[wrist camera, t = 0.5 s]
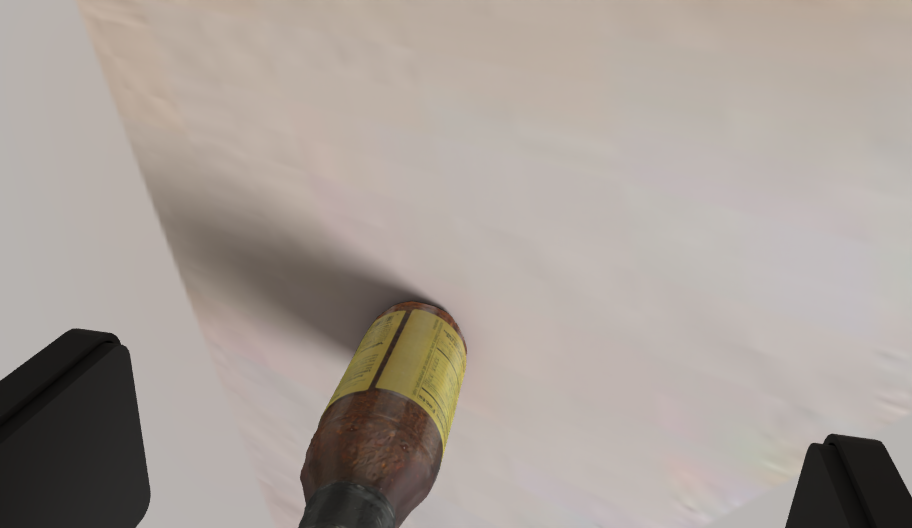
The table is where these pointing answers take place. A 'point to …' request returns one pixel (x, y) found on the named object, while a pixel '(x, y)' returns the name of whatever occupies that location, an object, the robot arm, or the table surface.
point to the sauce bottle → (386, 422)
